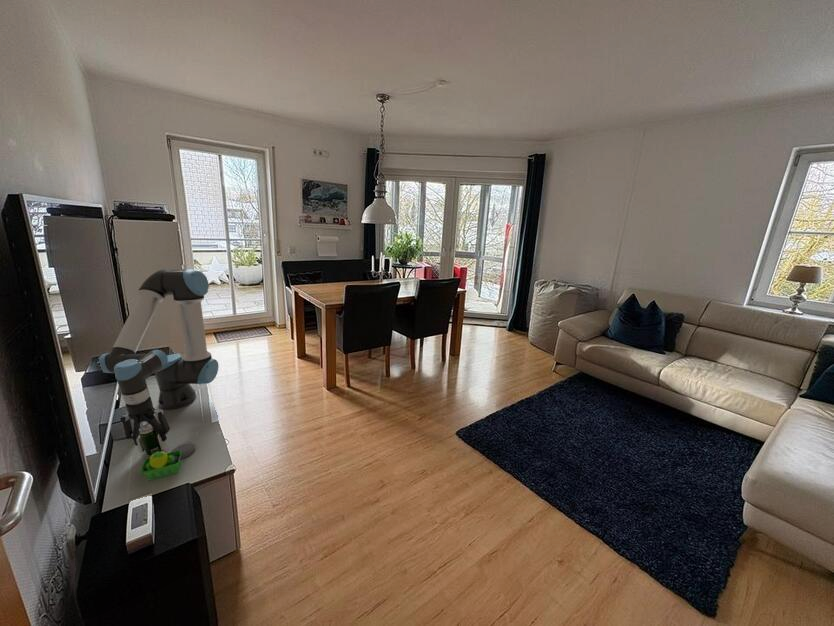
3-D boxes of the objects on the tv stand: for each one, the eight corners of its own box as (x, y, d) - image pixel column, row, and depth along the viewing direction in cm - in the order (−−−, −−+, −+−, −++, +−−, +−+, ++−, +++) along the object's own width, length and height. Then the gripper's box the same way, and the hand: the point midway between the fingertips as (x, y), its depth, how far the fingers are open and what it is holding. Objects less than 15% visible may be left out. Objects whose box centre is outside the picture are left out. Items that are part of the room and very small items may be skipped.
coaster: (175, 447, 140) (175, 445, 140) (197, 443, 142) (197, 441, 142) (167, 461, 133) (167, 459, 133) (191, 457, 135) (190, 455, 134)
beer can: (165, 450, 138) (157, 425, 134) (150, 459, 134) (141, 433, 130) (159, 445, 141) (151, 421, 137) (143, 453, 137) (135, 428, 133)
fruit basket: (184, 459, 134) (177, 436, 130) (180, 476, 126) (172, 452, 122) (149, 468, 130) (140, 444, 126) (142, 486, 122) (133, 461, 118)
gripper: (101, 409, 123) (120, 460, 131) (163, 401, 128) (178, 451, 136) (112, 397, 130) (129, 446, 138) (171, 390, 135) (184, 438, 143)
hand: (153, 449), depth 137 cm, fingers open, 6 cm apart
